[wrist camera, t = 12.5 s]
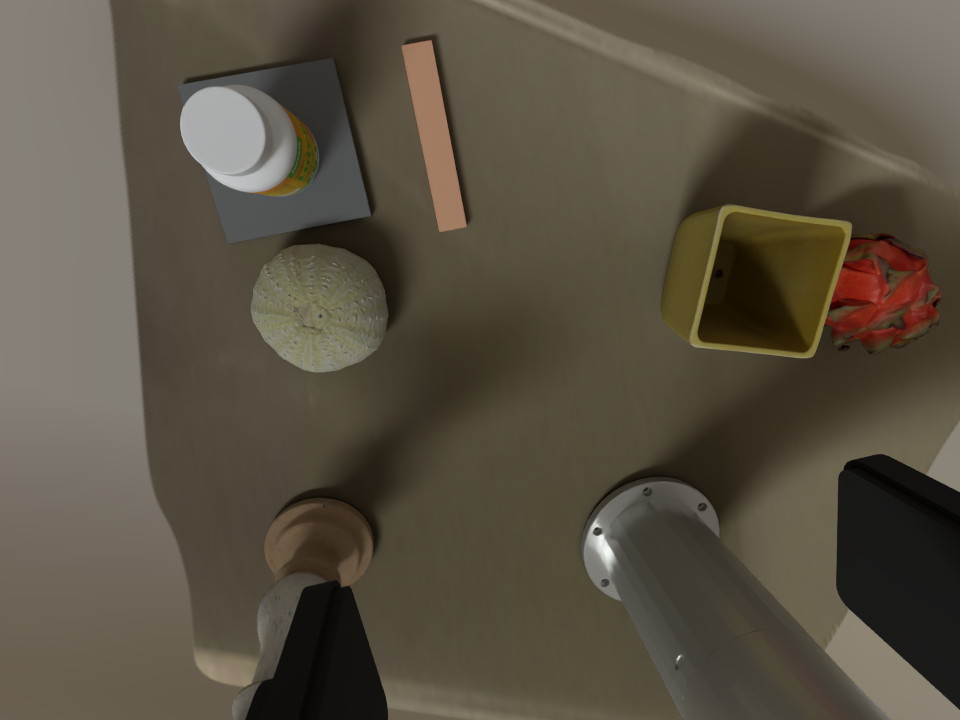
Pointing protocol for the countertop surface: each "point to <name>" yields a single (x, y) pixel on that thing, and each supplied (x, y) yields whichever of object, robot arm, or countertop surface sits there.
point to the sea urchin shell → (320, 307)
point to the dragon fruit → (882, 295)
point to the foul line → (434, 134)
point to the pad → (339, 176)
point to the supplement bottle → (249, 141)
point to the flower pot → (753, 279)
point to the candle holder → (304, 572)
